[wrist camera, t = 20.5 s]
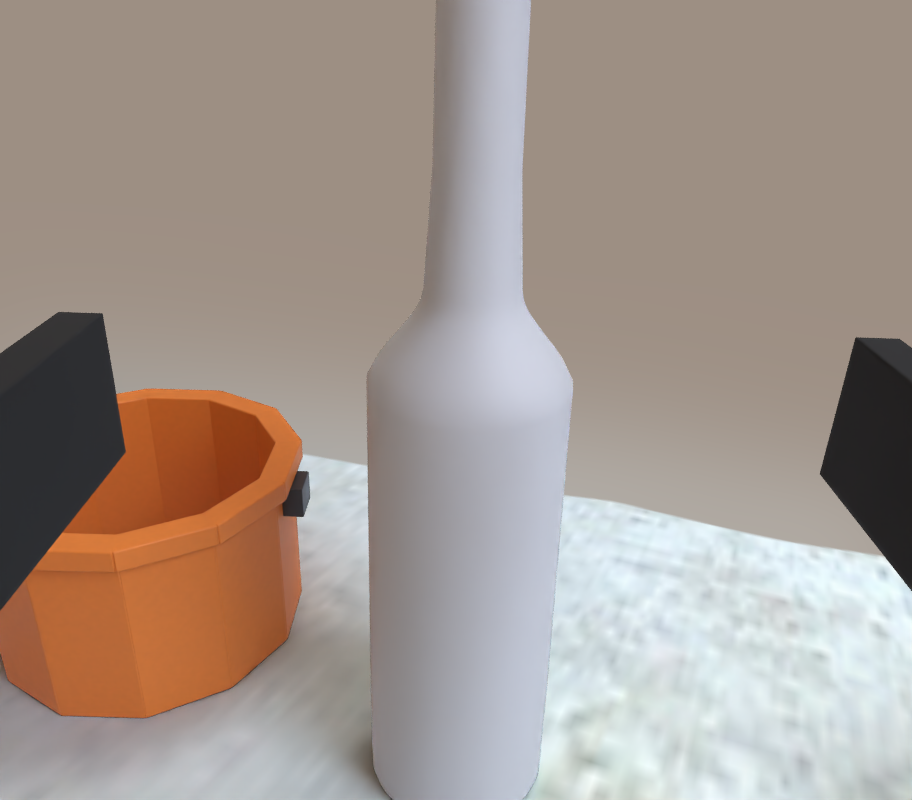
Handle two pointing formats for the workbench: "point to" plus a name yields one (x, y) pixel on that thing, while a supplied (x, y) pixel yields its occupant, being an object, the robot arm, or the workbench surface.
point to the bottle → (467, 453)
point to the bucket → (167, 563)
